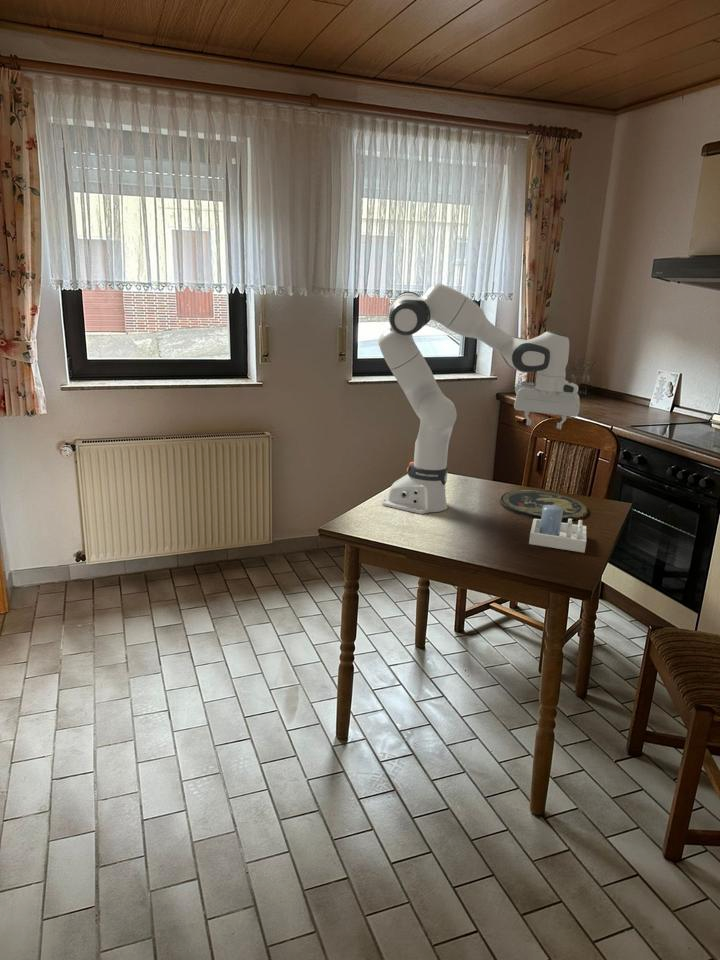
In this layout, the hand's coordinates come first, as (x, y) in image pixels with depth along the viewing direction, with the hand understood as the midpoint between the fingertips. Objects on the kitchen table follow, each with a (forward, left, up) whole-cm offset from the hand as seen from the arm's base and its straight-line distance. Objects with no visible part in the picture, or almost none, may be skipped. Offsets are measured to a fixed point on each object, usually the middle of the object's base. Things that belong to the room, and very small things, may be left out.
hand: (543, 427), depth 216 cm
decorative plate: (+3, +13, -31) cm, 34 cm away
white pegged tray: (+9, -19, -31) cm, 37 cm away
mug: (+6, -19, -30) cm, 36 cm away
